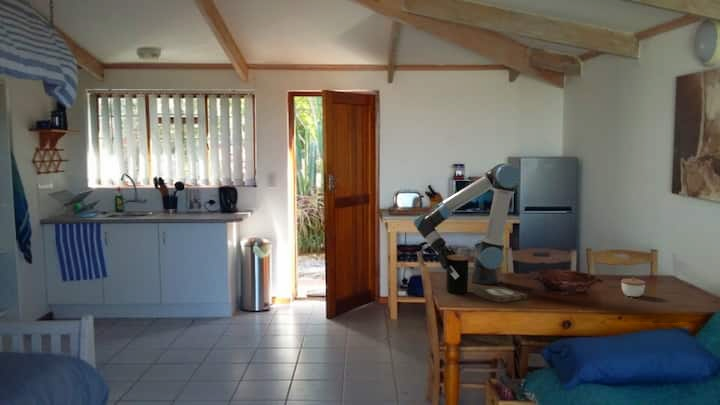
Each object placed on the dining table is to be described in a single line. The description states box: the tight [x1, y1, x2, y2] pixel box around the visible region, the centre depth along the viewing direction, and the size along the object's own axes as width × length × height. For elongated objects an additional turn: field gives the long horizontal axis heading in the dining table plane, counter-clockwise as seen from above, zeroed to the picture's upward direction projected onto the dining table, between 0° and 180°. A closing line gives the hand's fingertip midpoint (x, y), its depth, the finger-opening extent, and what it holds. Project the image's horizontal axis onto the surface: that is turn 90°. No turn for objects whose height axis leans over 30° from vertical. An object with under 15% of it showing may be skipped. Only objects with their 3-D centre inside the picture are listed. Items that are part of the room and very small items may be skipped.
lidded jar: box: [621, 276, 646, 297], centre depth 292 cm, size 11×11×9 cm
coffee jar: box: [445, 254, 469, 295], centre depth 295 cm, size 11×11×18 cm
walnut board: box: [473, 286, 528, 304], centre depth 288 cm, size 18×18×2 cm
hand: (462, 275), depth 293 cm, fingers closed on coffee jar, 11 cm apart
